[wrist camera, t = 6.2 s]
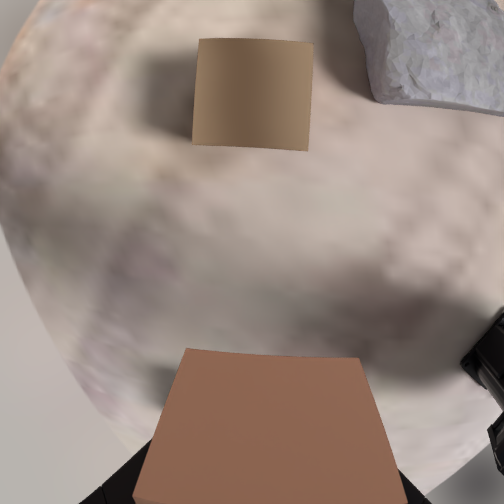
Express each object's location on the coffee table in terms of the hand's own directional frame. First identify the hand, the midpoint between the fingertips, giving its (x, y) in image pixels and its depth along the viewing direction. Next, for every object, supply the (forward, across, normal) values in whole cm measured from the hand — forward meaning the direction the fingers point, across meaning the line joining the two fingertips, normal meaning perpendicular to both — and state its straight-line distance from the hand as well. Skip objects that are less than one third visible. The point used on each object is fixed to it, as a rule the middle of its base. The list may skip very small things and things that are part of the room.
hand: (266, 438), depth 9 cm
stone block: (+13, -10, -17) cm, 24 cm away
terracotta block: (+1, 0, 0) cm, 1 cm away
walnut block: (+13, +1, -10) cm, 16 cm away
